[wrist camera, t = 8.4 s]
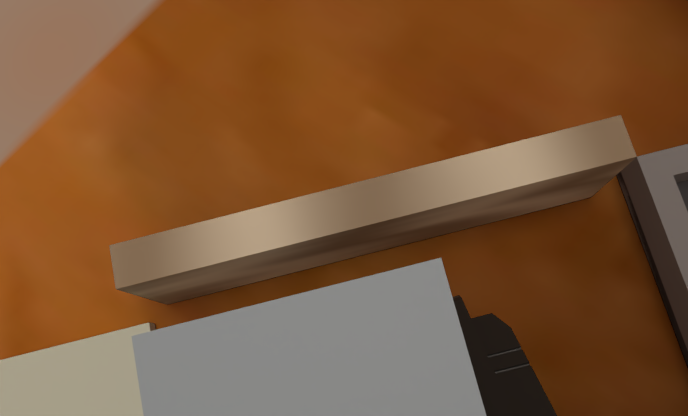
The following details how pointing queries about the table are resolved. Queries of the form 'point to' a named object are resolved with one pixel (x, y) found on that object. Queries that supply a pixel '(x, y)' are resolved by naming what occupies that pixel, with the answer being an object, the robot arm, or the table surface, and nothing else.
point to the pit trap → (663, 226)
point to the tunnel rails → (373, 214)
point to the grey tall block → (319, 354)
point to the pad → (75, 378)
